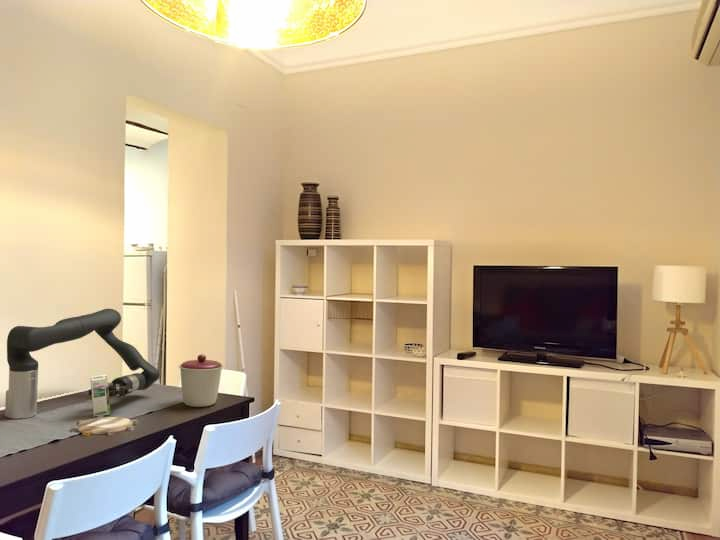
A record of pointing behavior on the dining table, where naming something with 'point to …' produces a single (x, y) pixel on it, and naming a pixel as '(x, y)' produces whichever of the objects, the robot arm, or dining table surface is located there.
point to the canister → (200, 381)
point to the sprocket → (104, 425)
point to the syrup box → (100, 395)
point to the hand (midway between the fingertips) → (99, 393)
